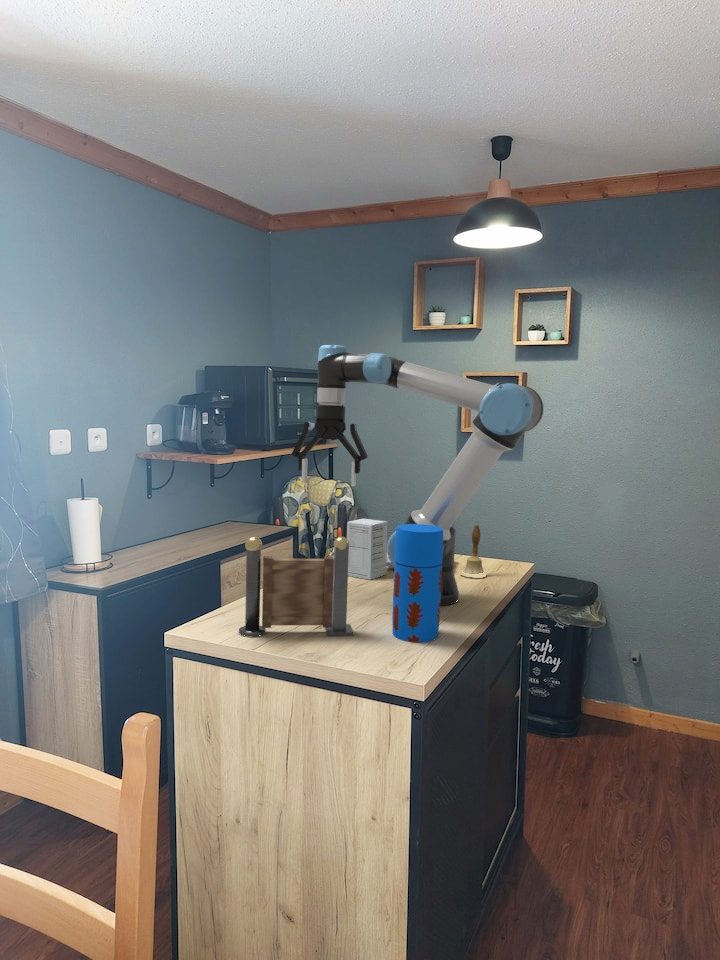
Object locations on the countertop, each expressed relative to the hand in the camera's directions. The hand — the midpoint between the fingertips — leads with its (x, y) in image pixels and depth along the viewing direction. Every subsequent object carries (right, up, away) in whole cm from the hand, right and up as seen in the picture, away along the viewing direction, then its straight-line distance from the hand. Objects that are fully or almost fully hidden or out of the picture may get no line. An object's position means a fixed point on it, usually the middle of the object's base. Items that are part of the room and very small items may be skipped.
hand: (328, 484), depth 192 cm
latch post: (+4, -34, -26) cm, 43 cm away
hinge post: (-16, -34, -29) cm, 47 cm away
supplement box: (+10, -28, +28) cm, 41 cm away
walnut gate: (-6, -32, -28) cm, 43 cm away
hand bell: (+44, -29, +33) cm, 62 cm away
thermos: (+21, -35, -27) cm, 49 cm away
